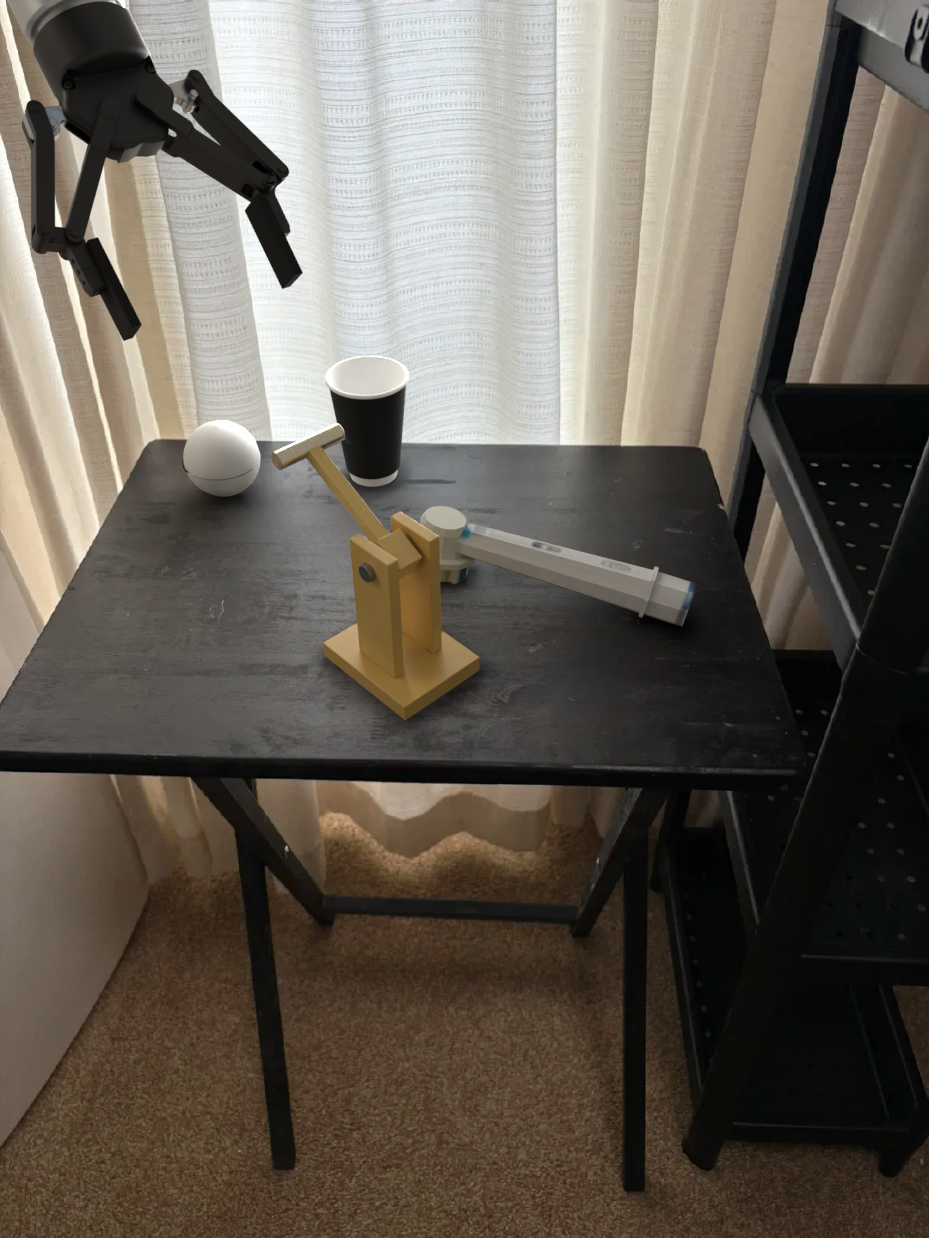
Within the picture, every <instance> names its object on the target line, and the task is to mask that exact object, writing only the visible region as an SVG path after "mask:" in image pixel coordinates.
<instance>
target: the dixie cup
mask: <svg viewBox="0 0 929 1238" xmlns="http://www.w3.org/2000/svg"><path fill="white" fill-rule="evenodd" d="M409 381H410V373H409V370H408V368H407V367H406V366H405V365H404V364H403V363H401V362H399V361H397V360H395V359H393V358H389V357H385V356H379V355H362V356H361V355H359V356H354V357H349V358H346V359H344V360H341V361H339V362H336V363H335V364H334V365H332V366H331V367H330V368H329V369H328V370H327V371H326V373H325V376H324V383H325V385H326V387H327V388H328V390H329V394H330V398H331V403H332V407H333V412H334V418H335V421H336V423H337V424H339V425H340V426H341V427H342V428H343V430H344V432H345V439H344V440H343V441H341V442H340V445H341V448H342V449H341V450H342V455H343V458H344V463H345V467H346V470H347V471H348V473H349V475H350V479H351V480H352V481H353V482H354V483H355V484H357V485H359V486H363V487H367V488H368V487H369V488H377V487H381V486H385V485H386V486H387V485H388V484H390V483H392V482H393V481H394V480H396V478H397V476H398V470H399V468H400V467H401V457H402V445H403V444H402V443H403V432H404V431H403V430H404V418H405V417H404V416H405V406H406V405H405V402H406V390H407V384H408V383H409Z"/></svg>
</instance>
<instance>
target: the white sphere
mask: <svg viewBox="0 0 929 1238" xmlns="http://www.w3.org/2000/svg"><path fill="white" fill-rule="evenodd" d="M182 455H183V456H182V461H181V467H182V469H183V471H184V472H185V473H186V474H187V476H188V479H189V480H190V481H191V482H192V484H194V485H195V486H196V487H197V488H198V489H199V490H200V491H202V492H205V493H207V494H208V495H209V494H210V495H211V496H214V497H223V498H224V497H225V498H226V497H232V496H236V495H238V494H240V493H242V492H244V491H245V490H246V489H248V488H249V487H250V486H252V484H253V483H254V481H255V480H256V479H257V476H258V474H259V471H260V467H261V452H260V449H259V446H258V443H257V440H256V439H255V437H254V436H253V435H252V434H251V433H250V431H248V430H247V428H245V427H244V426H242V425H240V424H238V423H236V422H234V421H232V420H227V419H220V420H219V419H217V420H210V421H208V422H205V423H202V424H201V425H199V426H198V427H197V428H196V429H194V431H193V432H192V433H191V434H190V435H189V436H188V438H187V440H186V443H185V446H184V449H183V453H182Z"/></svg>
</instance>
